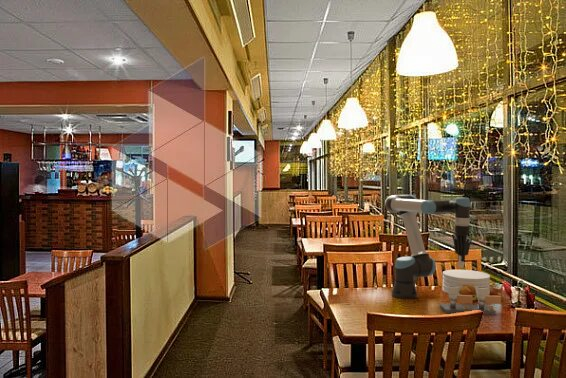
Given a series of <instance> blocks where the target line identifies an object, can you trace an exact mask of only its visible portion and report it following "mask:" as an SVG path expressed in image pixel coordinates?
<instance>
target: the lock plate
mask: <svg viewBox="0 0 566 378" xmlns="http://www.w3.org/2000/svg"><path fill="white" fill-rule="evenodd" d="M439 308H440V309H441V310H442V312H443V313H444V314H454V313H456V312H464V311H472V310H481V311H483V312H484V314H483V315H487V316H488V315H490V316H491V315H492V316H493V315H494V316H497V315H496V314H497V311H496V310H495V309H494V306H490V305H488V304H485V303H484V301H481V300H478V301H477V304H476V303H475V304H471V303H457V302H456V300H451V299H449V303H439Z"/></svg>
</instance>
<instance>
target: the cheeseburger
mask: <svg viewBox="0 0 566 378" xmlns="http://www.w3.org/2000/svg"><path fill="white" fill-rule="evenodd" d="M458 293H460V295H472V296H473V302H475V301H477V293H476V290H475V288H474V287H473V286H472V285H463V286H462V287H461V289H460V291H459V292H458Z"/></svg>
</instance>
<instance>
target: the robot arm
mask: <svg viewBox="0 0 566 378" xmlns="http://www.w3.org/2000/svg"><path fill="white" fill-rule="evenodd" d="M384 201H385V203H384V206H385V208H386V210H387V211H388V212H390V213H393V214H394V213H395V214H397V213H398V215H399V218H401V219H402V221H403V224H404V225H403V226H404V230H405V232H406V233H405V234H406V236H407V242H408V244H409V247H410V253H411V255H409V256H408V255H407V256H400V257H397V258H396V259H395V260H394V262H395V263H394V285H393V287H392V289H391V296H392V297H395V298H398V299H405V300H406V299H416V298H417V297H418V291H417V288H416V284H415V280H416V279H417V278H423V277H424V278H427V277H431V276H432V275H434V273H435V271H436V267H437V265H436V261H435V259H434V258H433V257H431V256H430V253H429V252H427V251H426V248H425V246H424V241H423V238H422V233H421V230H420V226H419V223H418V222H419V221H418V218H417V215H418V213H421V214H426V215H434V214H436V215H437V214H454V217H455V219H454V220H455V221H454V222H455V223H454V224H455V226H454V232H455V235H453V236H452V237H451V238H452V240H453V248H454V253H455V254H457V261H458V264H457V266H458V268H464V267H465V261H466V256H468V255H469V252H470V246H471V243H472V241H473V239H472V238H470V237H469V233H470V226H469V225H471V224H470V222H471V220H470V219H471V217H470V213H471V200H470V198H469V197H456V198H455V200H454V199H453V200H450V199H441V200H440V199H439V200H431V199H429V200H428V199H426V200H425V199H418V198H417V197H416V196H415V195H413V194H394V195H393V194H392V195H390V196H388V197H387V198H386V199H385V200H384Z"/></svg>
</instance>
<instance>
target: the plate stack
mask: <svg viewBox="0 0 566 378" xmlns="http://www.w3.org/2000/svg"><path fill="white" fill-rule="evenodd" d="M490 283H491V275H490V274H489V273H486V272H483V271H477V270H471V269H447V270H444V271H442V291H443V292H444V293H446V294H447V295H449V293H448V286H457V287H458V292H459V291H460V289H461V287H462V286H463V285H472V286H473V287H474V288H475V290H476V287H485V288H487V295H490V294H491V293H490V292H491V291H490V290H491V288H490V287H491V284H490ZM457 295H460V293H458V294H457Z"/></svg>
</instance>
